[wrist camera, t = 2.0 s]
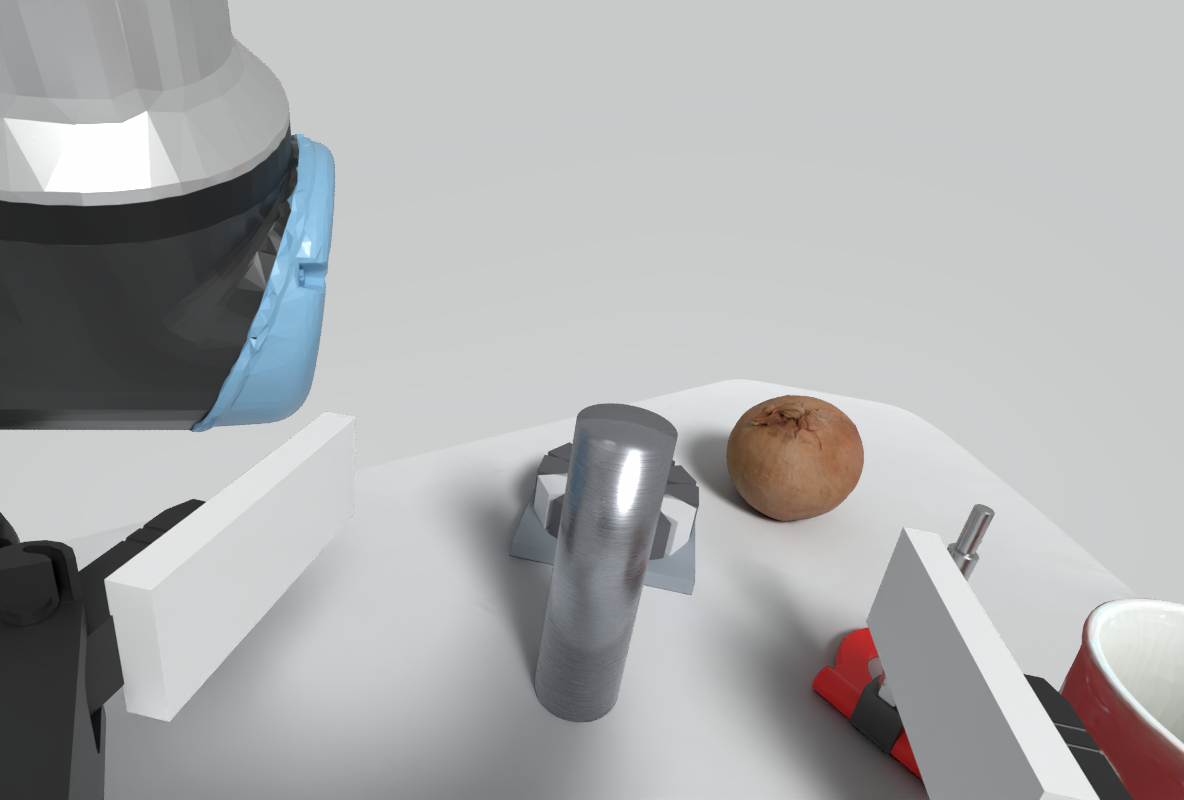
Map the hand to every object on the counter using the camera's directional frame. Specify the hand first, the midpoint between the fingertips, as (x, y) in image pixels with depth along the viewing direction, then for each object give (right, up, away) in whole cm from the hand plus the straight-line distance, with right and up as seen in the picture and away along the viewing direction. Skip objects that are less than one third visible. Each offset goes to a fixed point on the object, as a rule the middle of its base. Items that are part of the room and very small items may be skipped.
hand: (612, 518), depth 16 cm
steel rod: (-1, -11, +16) cm, 19 cm away
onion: (+13, -5, +34) cm, 37 cm away
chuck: (+1, -5, +29) cm, 29 cm away
